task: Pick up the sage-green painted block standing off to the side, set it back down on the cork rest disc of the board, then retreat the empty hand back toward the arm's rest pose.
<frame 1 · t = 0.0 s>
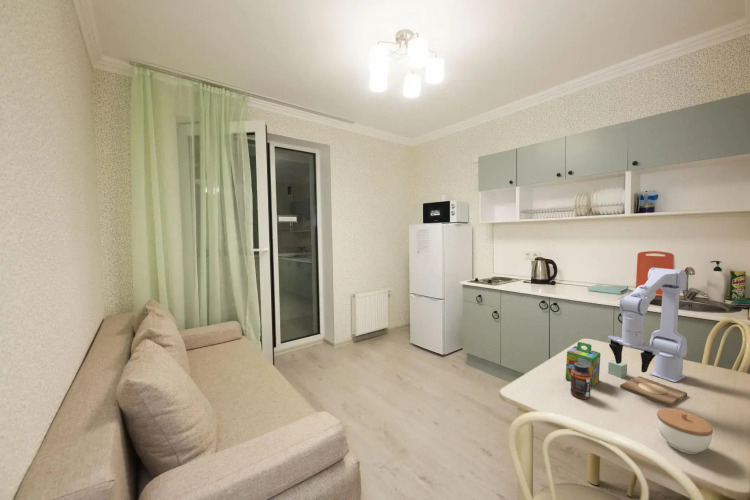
hand: (631, 367, 109), 10 cm above the table, fingers open, 7 cm apart
chalk box: (582, 380, 121), on the table
rest board: (652, 391, 111), on the table
lidded jar: (682, 446, 84), on the table
supplement bottle: (580, 395, 110), on the table
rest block: (617, 374, 125), on the table
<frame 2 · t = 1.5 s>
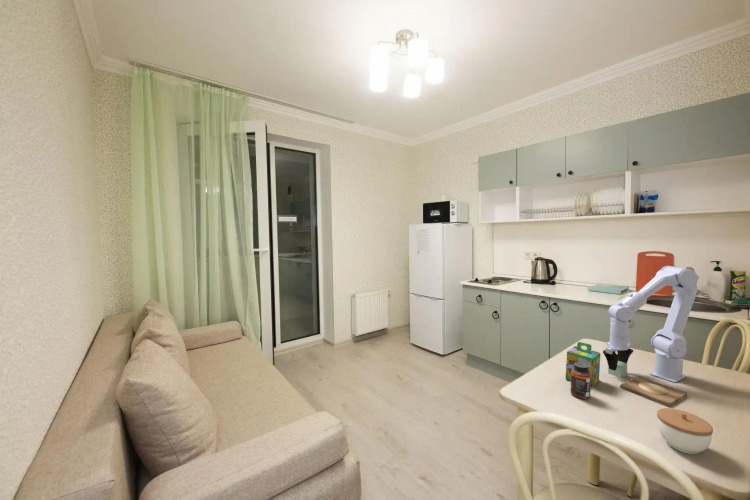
hand: (617, 367, 124), 3 cm above the table, fingers open, 7 cm apart
nothing on the table moved.
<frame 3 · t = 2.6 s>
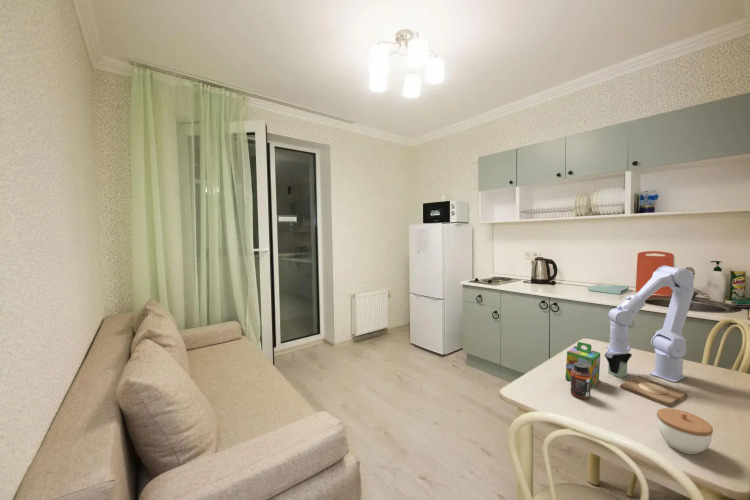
hand: (617, 371, 125), 1 cm above the table, fingers closed on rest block, 4 cm apart
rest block: (617, 374, 125), on the table, touching gripper
everything else where it was.
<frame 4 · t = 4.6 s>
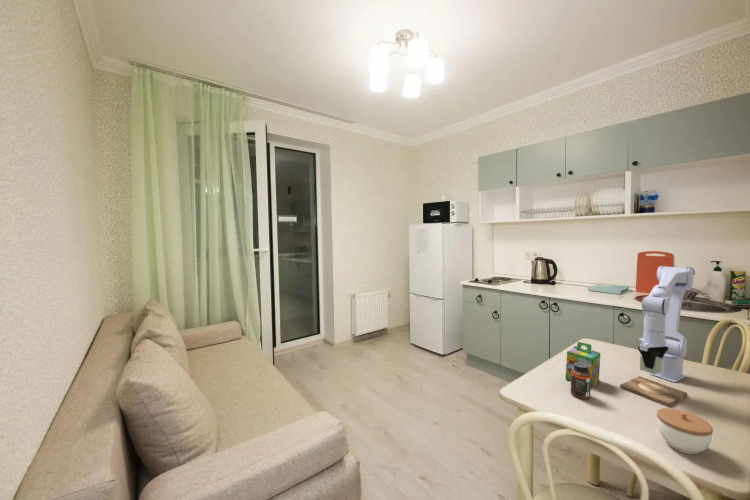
hand: (652, 366, 111), 9 cm above the table, fingers closed on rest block, 4 cm apart
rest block: (650, 370, 112), point 8 cm above the table, touching gripper
everything else where it was.
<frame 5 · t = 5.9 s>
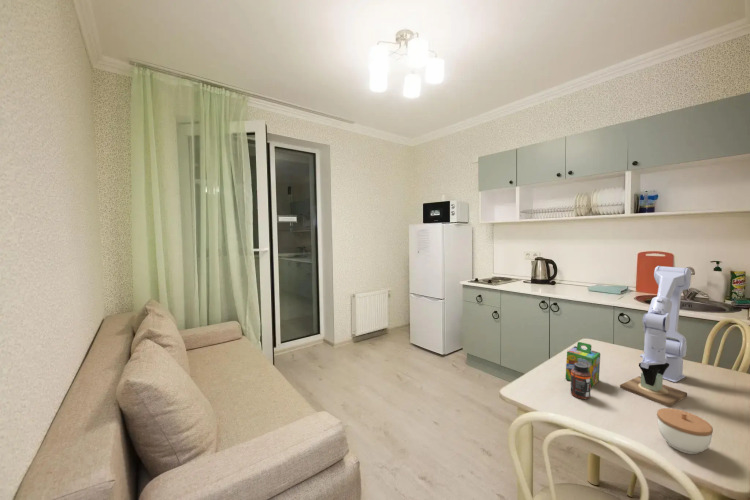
hand: (653, 382, 111), 3 cm above the table, fingers closed on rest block, 4 cm apart
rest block: (651, 387, 111), point 2 cm above the table, touching gripper
everything else where it was.
when the fingers open (3 cm above the table, at t = 6.7 s): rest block stays where it is, resting on rest board.
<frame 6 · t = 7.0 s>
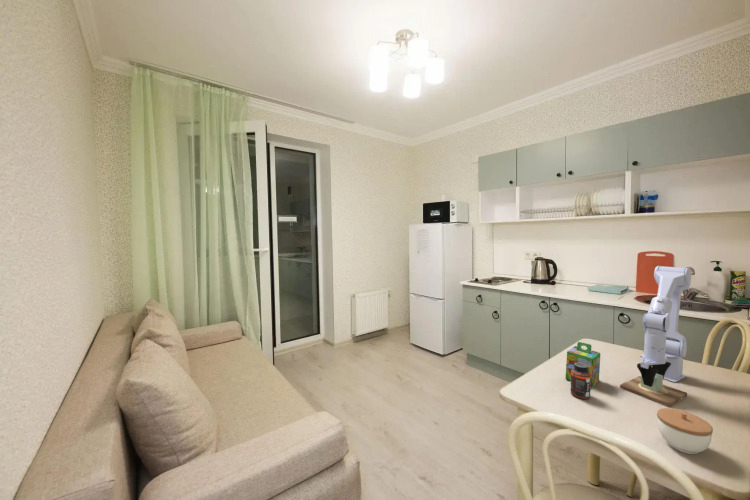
hand: (653, 382, 111), 3 cm above the table, fingers open, 7 cm apart
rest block: (651, 387, 111), point 1 cm above the table, touching rest board
everything else where it was.
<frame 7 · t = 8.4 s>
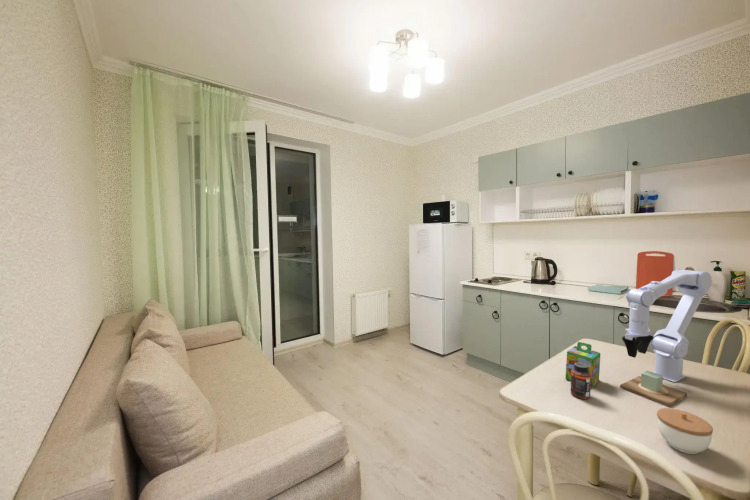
hand: (636, 354, 119), 10 cm above the table, fingers open, 7 cm apart
nothing on the table moved.
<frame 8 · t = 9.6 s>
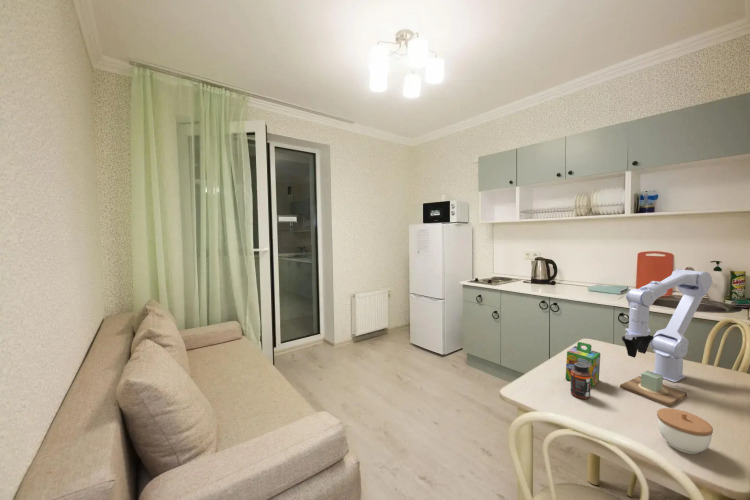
hand: (636, 354, 119), 10 cm above the table, fingers open, 7 cm apart
nothing on the table moved.
at the end: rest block inside the target area (0.4 cm from its centre), point 1.4 cm above the table; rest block tilted 0°; the gripper is holding nothing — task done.
